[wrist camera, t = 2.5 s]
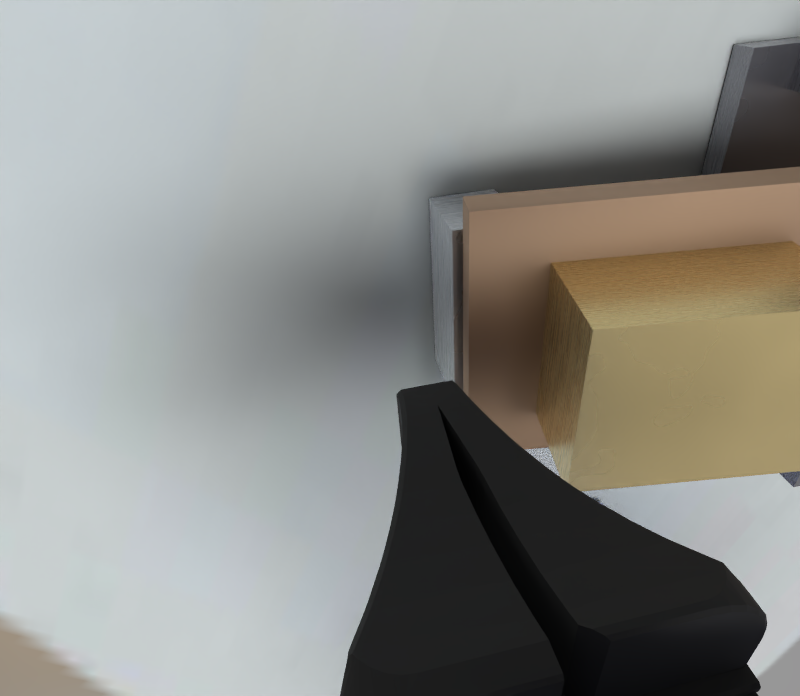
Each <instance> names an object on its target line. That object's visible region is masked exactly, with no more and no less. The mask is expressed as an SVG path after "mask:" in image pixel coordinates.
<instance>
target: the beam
mask: <svg viewBox="0 0 800 696" xmlns="http://www.w3.org/2000/svg"><path fill="white" fill-rule="evenodd" d="M787 241H793V242H795V243H796V244H798V245H799V246H800V167H789V168H778V169H767V170H755V171H744V172H733V173H721V174H710V175H699V176H688V177H676V178H665V179H654V180H643V181H631V182H620V183H609V184H597V185H586V186H575V187H564V188H552V189H541V190H530V191H519V192H507V193H496V194H485V195H473V196H463V391H464V392H465V394H466V395H467V396H468V397H469V398H470V399H471V400H472V401H473V402H474V403H475V404H476V405H477V406H478V407H479V408H480V409H481V410H482V411H483V412H484V413H485V414H486V415H487V416H488V417H489V418H490V419H491V420H492V421H493V422H494V423H495V424H496V425H497V426H498V427H499V428H501V429H502V430H503V431H504V432H505V433H506V434H507V435H508V436H509V437H510V438H511V439H513V440H514V441H515V442H516V443H517V444H518V445H520V446H521V447H522V448H523V449H534V448H545V447H549V446H548V444H547V441H546V438H545V436H544V433H543V431H542V428H541V425H540V423H539V420H538V418H537V415H536V407H537V397H538V387H539V377H540V367H541V357H542V348H543V338H544V328H545V318H546V308H547V298H548V288H549V278H550V268H551V263H553V262H565V261H576V260H587V259H598V258H609V257H620V256H631V255H643V254H654V253H665V252H676V251H687V250H698V249H709V248H720V247H732V246H743V245H754V244H765V243H776V242H787Z"/></svg>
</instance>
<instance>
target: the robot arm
mask: <svg viewBox="0 0 800 696" xmlns="http://www.w3.org/2000/svg"><path fill="white" fill-rule="evenodd" d="M397 404H398V414H399V424H400V434H401V445H402V454H401V465H400V473H399V482H398V489H397V495H396V501H395V507H394V512H393V517H392V521H391V526H390V530H389V534H388V538H387V542H386V546H385V550H384V553H383V557H382V561H381V564H380V567H379V570H378V573H377V576H376V579H375V582H374V585H373V588H372V592H371V595H370V598H369V601H368V603H367V606H366V609H365V612H364V614H363V617H362V619H361V621H360V624H359V626H358V629H357V631H356V634H355V636H354V639H353V641H352V644H351V646H350V649H349V652H348V659H347V664H346V669H345V673H344V678H343V683H342V689H341V694H340V696H758V695H757V693H756V692H758V691H759V690H760V688H761V687H760V683H759V681H758V679H757V678H756V677H755V675H754V674H753V672H752V671H751V669H750V668H749V666H748V665H747V662H748V661H749V659H750V657H751V656H752V654H753V653H754V651H755V649H756V648H757V646H758V644H759V643H760V641H761V640H762V638H763V635H764V633H765V630H766V627H767V619H766V614H765V613H764V612H763V610H762V609H761V608H760V606H759V605H758V604H757V602H756V601H755V600H754V599H753V597H752V596H751V595H750V593H749V592H748V591H747V589H746V588H745V587H744V586H743V585H742V583H741V582H740V581H739V580H738V579H737V578H736V577H735V576H734V575H733V574H732V573H731V571H730V570H729V569H728V568H727V567H726V566H725V565H724V563H722V562H720V561H718V560H715V559H713V558H711V557H708V556H706V555H703V554H701V553H699V552H696V551H694V550H692V549H689V548H687V547H685V546H682V545H680V544H678V543H675V542H673V541H671V540H669V539H666V538H664V537H662V536H660V535H658V534H656V533H654V532H652V531H650V530H648V529H646V528H644V527H642V526H640V525H638V524H636V523H634V522H632V521H630V520H629V519H627V518H625V517H623V516H622V515H620V514H618V513H616V512H615V511H613V510H611V509H609V508H607V507H606V506H604V505H603V504H602V503H600V502H597V501H595V500H594V499H592V498H590V497H589V496H587V495H586V494H584V493H583V492H581V491H580V490H578V489H576V488H575V487H573V486H572V485H571V484H569V483H568V482H566V481H565V480H563V479H562V478H560V477H559V476H558V475H556V474H555V473H553V472H552V471H551V470H549V469H548V468H547V467H545V466H544V465H543V464H542V463H540V462H539V461H538V460H537V459H535V458H534V457H533V456H532V455H530V454H529V453H528V452H527V451H525V450H524V449H523V448H522V447H521V446H520V445H518V444H517V443H516V442H515V441H514V440H513V439H511V438H510V437H509V436H508V435H507V434H506V433H505V432H504V431H503V430H502V429H501V428H499V427H498V426H497V425H496V424H495V423H494V422H493V421H492V420H491V419H490V418H489V417H488V416H487V415H486V414H485V413H484V412H483V411H482V410H481V409H480V408H479V407H478V406H477V405H476V404H475V403H474V402H473V401H472V400H471V399H470V398H469V397H468V396H467V395H466V394H465V392H464V391H463V390H462V389H461V388H460V387H459V386H458V385H457V383H455V382H454V381H452V380H451V381H445V382H440V383H435V384H429V385H424V386H419V387H413V388H408V389H403V390H400V391H399V392H398V394H397Z"/></svg>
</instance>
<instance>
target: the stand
mask: <svg viewBox="0 0 800 696" xmlns="http://www.w3.org/2000/svg"><path fill="white" fill-rule="evenodd" d="M789 167H800V37H794V38H786V39H777V40H768V41H759V42H751V43H742V44H734V47H733V50H732V54H731V58H730V62H729V66H728V70H727V74H726V78H725V82H724V86H723V90H722V94H721V98H720V102H719V106H718V110H717V114H716V118H715V122H714V126H713V130H712V134H711V138H710V142H709V146H708V150H707V154H706V158H705V162H704V166H703V170H702V174H701V175H710V174H721V173H733V172H744V171H755V170H767V169H778V168H789ZM496 193H497V192H496V191H495V190H494V189H490V190H483V191H476V192H468V193H461V194H454V195H447V196H440V197H433V198H429V211H430V237H431V262H432V287H433V313H434V338H435V360H436V362H437V365H438V367H439V369H440V372H441V374H442V376H443V379H444V381H451V380H452V381H454V382H455V383H457V385H458V386H459V387H460V388H461V389H462V390H463V196H473V195H485V194H496ZM780 474H781V475H782V476H783V477H784V478H785V479H786V480H787V481H788V482H789V483H790V484H791V485H792V486H793V487H796V486H800V471H796V472H785V473H780Z"/></svg>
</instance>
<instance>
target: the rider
mask: <svg viewBox="0 0 800 696" xmlns="http://www.w3.org/2000/svg"><path fill="white" fill-rule="evenodd" d="M536 415H537V418H538V420H539V423H540V425H541V428H542V431H543V433H544V436H545V438H546V441H547V444H548V446H549V449H550V451H551V454H552V457H553V459H554V462H555V464H556V467H557V470H558V472H559V475H560V477H561V478H562V479H563V480H565V481H566V482H568V483H569V484H571V485H572V486H573V487H575V488H576V489H578V490H580V491H591V490H601V489H612V488H623V487H634V486H644V485H655V484H666V483H677V482H688V481H698V480H709V479H720V478H731V477H742V476H752V475H763V474H774V473H785V472H796V471H800V246H799V245H798V244H796V243H795V242H793V241H787V242H776V243H765V244H754V245H743V246H732V247H720V248H709V249H698V250H687V251H676V252H665V253H654V254H643V255H631V256H620V257H609V258H598V259H587V260H576V261H565V262H553V263H551V268H550V278H549V288H548V298H547V308H546V318H545V328H544V338H543V348H542V357H541V367H540V377H539V387H538V397H537V407H536Z"/></svg>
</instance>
